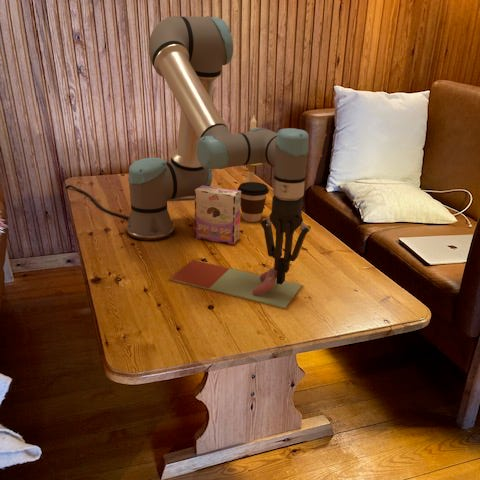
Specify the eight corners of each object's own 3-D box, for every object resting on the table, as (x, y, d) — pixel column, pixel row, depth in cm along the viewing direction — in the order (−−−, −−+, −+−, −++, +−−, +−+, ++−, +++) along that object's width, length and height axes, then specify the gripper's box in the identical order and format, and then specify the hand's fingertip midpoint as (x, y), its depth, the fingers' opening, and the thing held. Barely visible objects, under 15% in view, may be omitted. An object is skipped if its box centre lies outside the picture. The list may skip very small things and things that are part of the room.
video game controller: (264, 302, 141) (277, 284, 138) (250, 293, 141) (263, 274, 137) (272, 286, 150) (285, 268, 146) (259, 277, 149) (271, 259, 145)
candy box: (240, 239, 175) (242, 190, 166) (233, 245, 170) (235, 195, 161) (201, 232, 178) (201, 183, 170) (194, 238, 174) (194, 189, 165)
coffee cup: (231, 221, 188) (232, 188, 182) (243, 211, 197) (244, 179, 190) (260, 226, 185) (262, 193, 178) (271, 216, 193) (273, 184, 187)
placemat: (170, 280, 148) (170, 278, 148) (193, 261, 159) (193, 259, 159) (285, 308, 137) (285, 307, 137) (301, 286, 148) (301, 284, 148)
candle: (266, 200, 208) (273, 113, 191) (253, 207, 201) (258, 117, 184) (245, 195, 213) (249, 109, 195) (231, 202, 205) (234, 113, 188)
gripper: (257, 196, 129) (252, 282, 141) (308, 205, 125) (299, 293, 137) (268, 187, 135) (262, 271, 147) (317, 196, 131) (307, 281, 143)
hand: (280, 281), depth 142 cm, fingers closed
